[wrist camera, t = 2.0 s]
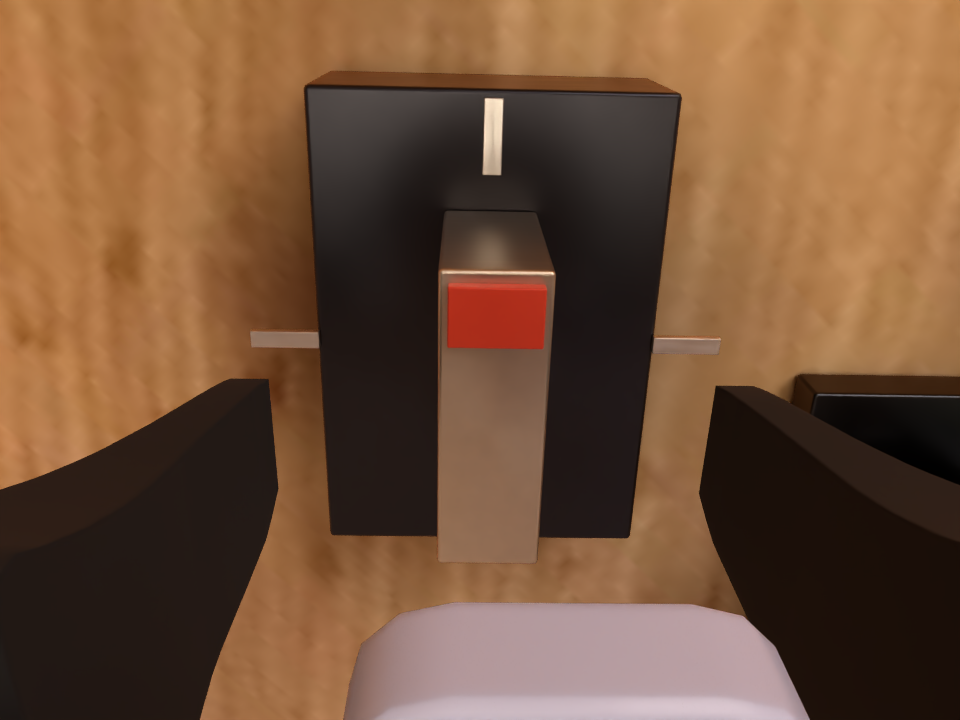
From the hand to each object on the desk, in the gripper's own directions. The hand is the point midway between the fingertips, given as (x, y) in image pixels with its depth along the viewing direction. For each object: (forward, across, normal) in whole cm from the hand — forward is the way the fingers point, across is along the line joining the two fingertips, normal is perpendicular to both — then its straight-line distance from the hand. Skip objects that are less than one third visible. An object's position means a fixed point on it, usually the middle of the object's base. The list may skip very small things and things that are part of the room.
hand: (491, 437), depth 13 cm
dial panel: (+7, 0, 0) cm, 7 cm away
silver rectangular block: (+4, 0, 0) cm, 4 cm away
